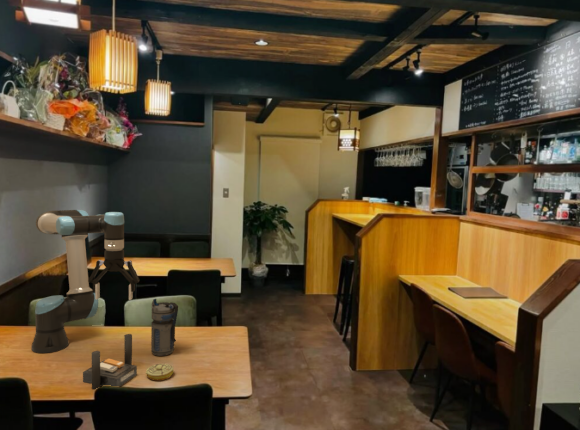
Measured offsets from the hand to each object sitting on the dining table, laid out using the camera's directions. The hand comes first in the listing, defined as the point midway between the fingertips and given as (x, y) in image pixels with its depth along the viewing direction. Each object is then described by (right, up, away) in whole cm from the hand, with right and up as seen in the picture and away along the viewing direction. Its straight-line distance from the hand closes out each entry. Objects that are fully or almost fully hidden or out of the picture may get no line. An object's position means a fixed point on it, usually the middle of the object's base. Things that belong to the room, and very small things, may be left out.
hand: (114, 298), depth 177 cm
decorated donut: (+21, -31, -4) cm, 38 cm away
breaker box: (+2, -31, -8) cm, 32 cm away
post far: (+5, -30, +3) cm, 30 cm away
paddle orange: (+3, -25, -6) cm, 26 cm away
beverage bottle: (+16, -29, +18) cm, 38 cm away
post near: (0, -31, -16) cm, 35 cm away
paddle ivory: (+1, -25, -10) cm, 27 cm away
